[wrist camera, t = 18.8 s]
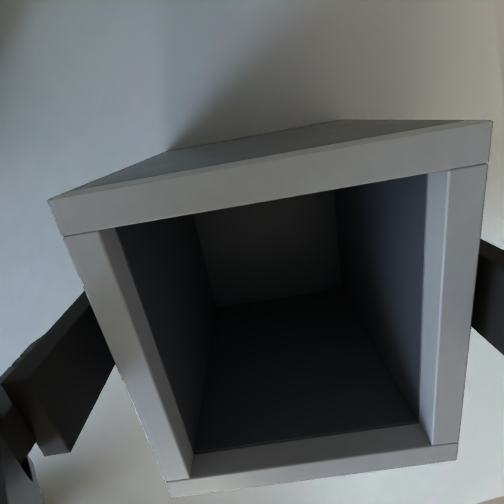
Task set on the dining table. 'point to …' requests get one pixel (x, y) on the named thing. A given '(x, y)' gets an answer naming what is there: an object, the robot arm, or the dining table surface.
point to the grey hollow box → (290, 296)
